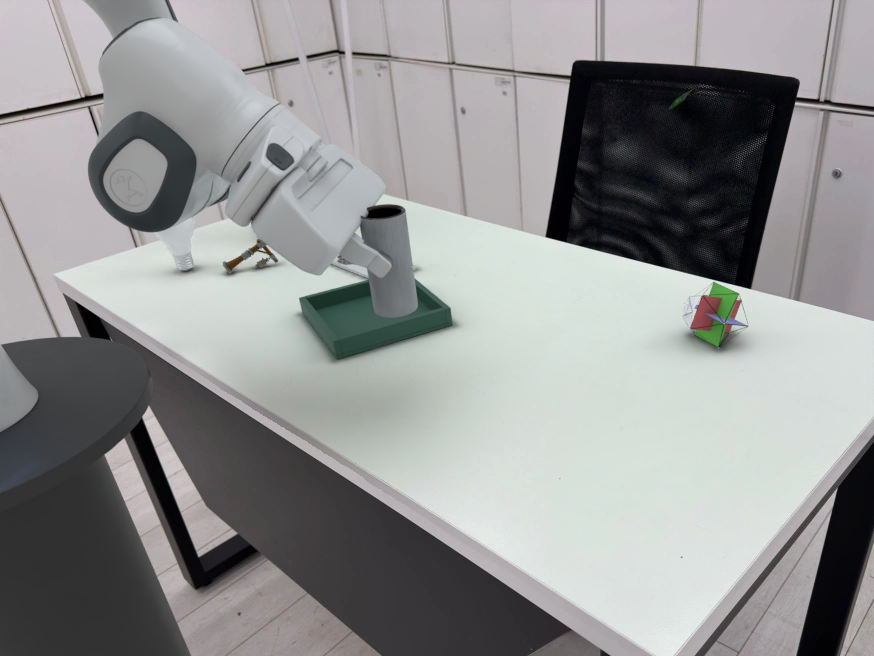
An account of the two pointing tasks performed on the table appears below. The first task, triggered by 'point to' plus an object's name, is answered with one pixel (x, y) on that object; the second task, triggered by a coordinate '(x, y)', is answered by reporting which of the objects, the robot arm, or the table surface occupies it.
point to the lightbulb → (179, 243)
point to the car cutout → (352, 266)
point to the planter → (392, 237)
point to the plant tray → (368, 318)
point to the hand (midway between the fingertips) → (395, 259)
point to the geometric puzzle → (713, 313)
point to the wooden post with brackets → (259, 245)
